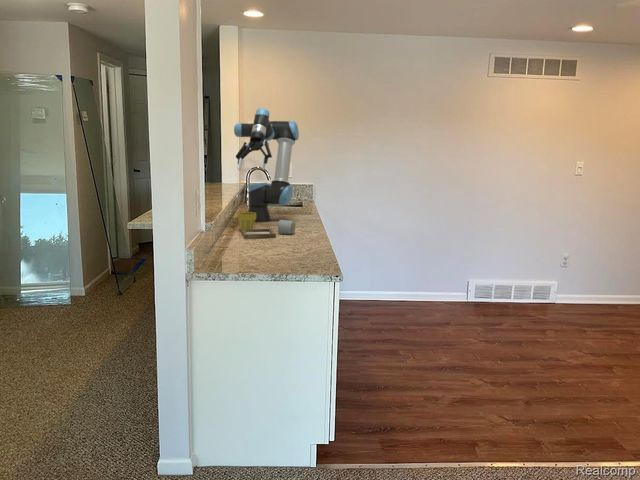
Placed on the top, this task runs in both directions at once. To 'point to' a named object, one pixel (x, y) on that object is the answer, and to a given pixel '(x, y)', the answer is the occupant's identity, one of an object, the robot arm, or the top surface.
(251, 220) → the plant pot
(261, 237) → the coaster tray
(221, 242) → the top surface
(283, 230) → the ceramic mug
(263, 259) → the top surface
